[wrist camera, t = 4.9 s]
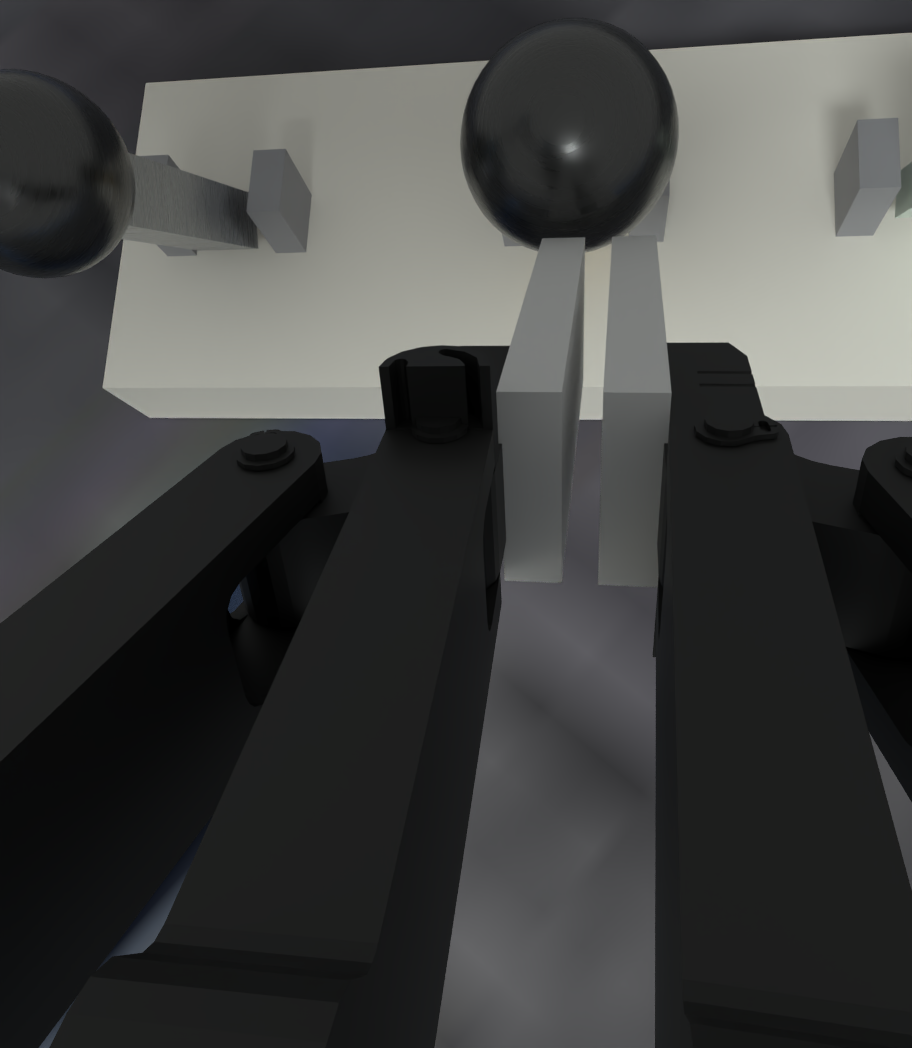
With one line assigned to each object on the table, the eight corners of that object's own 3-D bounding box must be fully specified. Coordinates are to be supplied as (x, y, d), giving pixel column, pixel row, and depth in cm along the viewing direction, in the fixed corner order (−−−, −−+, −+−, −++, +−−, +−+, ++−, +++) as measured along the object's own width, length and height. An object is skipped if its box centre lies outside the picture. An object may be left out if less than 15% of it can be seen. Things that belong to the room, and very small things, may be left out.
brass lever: (650, 279, 25) (683, 241, 14) (514, 282, 26) (443, 249, 15) (655, 131, 24) (694, -30, 13) (514, 138, 25) (439, -10, 14)
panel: (1096, 421, 26) (1223, 349, 20) (149, 417, 31) (57, 359, 25) (1066, 90, 28) (1175, -53, 22) (185, 138, 33) (107, 30, 27)
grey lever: (291, 288, 27) (75, 271, 16) (172, 290, 28) (-113, 276, 17) (283, 150, 26) (48, 34, 15) (160, 157, 27) (-149, 50, 16)
